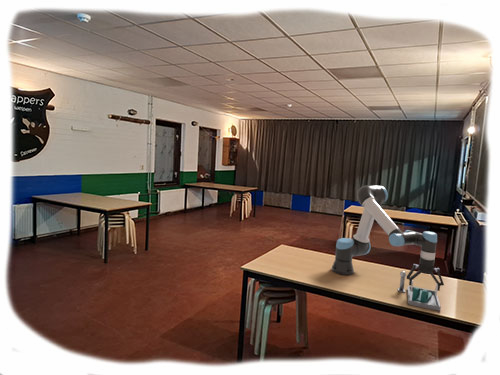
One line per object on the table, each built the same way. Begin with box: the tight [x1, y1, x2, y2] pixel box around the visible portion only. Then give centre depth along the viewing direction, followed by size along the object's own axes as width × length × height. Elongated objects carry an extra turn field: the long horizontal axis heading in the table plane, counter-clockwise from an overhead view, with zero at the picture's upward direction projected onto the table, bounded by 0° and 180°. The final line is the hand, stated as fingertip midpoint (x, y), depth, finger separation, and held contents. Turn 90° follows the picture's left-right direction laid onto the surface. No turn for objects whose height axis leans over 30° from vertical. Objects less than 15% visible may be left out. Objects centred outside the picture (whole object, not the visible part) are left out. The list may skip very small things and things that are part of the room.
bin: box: [406, 285, 442, 312], centre depth 195 cm, size 16×24×2 cm, turn 156°
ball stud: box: [397, 270, 407, 293], centre depth 205 cm, size 4×4×13 cm
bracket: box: [412, 286, 432, 303], centre depth 194 cm, size 18×7×8 cm, turn 137°
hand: (423, 293), depth 195 cm, fingers open, 12 cm apart
